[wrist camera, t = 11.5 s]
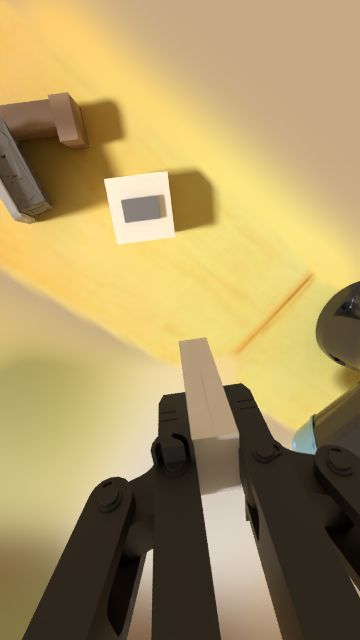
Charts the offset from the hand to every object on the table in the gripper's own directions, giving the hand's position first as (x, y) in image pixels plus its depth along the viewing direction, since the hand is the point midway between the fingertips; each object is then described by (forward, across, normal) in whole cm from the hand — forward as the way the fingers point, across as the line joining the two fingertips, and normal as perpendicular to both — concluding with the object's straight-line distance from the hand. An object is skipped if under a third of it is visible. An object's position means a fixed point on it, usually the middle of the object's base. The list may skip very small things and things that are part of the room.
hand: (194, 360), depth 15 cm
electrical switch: (+27, +17, -13) cm, 34 cm away
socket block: (+27, +3, -8) cm, 28 cm away
